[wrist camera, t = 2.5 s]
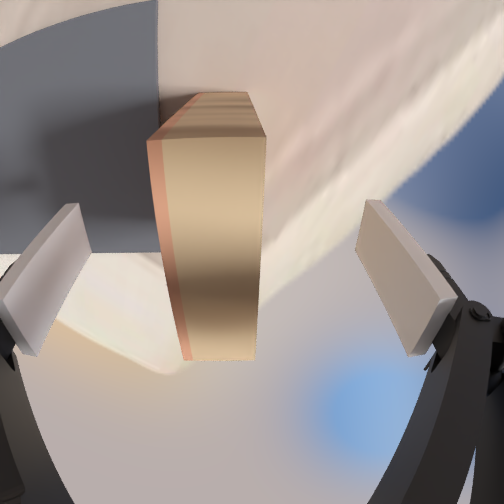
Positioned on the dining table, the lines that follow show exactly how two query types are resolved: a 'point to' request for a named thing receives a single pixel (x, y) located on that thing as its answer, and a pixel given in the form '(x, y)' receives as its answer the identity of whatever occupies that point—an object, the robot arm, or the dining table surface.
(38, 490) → the robot arm
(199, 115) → the tan block
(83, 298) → the dining table surface
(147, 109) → the slate mat
